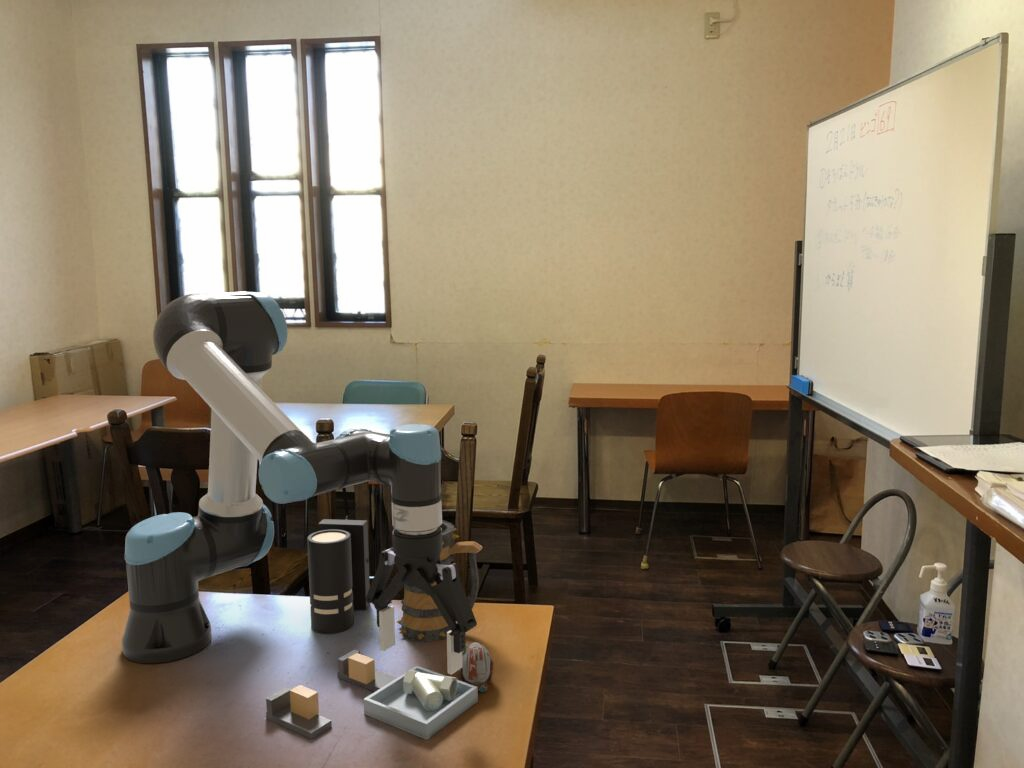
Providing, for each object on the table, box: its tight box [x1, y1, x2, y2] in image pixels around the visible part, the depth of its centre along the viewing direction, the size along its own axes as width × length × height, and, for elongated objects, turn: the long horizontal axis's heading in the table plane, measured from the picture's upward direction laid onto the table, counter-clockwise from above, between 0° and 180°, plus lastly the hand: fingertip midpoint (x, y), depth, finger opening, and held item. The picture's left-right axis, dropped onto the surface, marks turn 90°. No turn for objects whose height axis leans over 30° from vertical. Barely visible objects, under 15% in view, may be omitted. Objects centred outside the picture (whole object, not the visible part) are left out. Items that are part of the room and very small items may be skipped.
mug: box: [396, 519, 484, 642], centre depth 155 cm, size 13×17×20 cm
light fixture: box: [306, 518, 371, 635], centre depth 160 cm, size 10×14×18 cm
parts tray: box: [363, 665, 479, 741], centre depth 129 cm, size 13×13×2 cm
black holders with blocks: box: [265, 649, 397, 740], centre depth 131 cm, size 10×19×4 cm, turn 146°
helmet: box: [457, 641, 495, 693], centre depth 136 cm, size 6×8×7 cm
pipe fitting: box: [403, 669, 458, 711], centre depth 129 cm, size 8×4×7 cm
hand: (420, 658), depth 128 cm, fingers open, 13 cm apart
